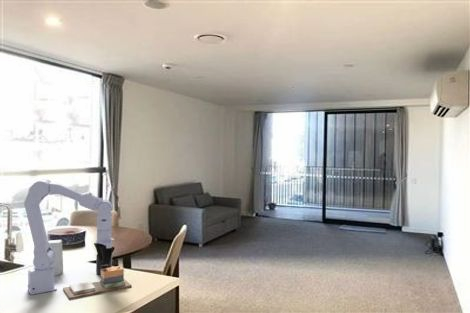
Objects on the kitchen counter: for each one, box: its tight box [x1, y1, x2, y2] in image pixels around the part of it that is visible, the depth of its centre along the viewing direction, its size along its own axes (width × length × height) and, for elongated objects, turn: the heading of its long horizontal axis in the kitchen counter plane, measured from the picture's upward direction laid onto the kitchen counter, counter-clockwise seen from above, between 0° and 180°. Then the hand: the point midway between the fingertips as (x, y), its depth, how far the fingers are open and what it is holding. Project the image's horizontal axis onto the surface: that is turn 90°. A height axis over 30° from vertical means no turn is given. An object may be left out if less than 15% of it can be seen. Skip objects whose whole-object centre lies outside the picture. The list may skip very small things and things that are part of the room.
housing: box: [100, 265, 125, 285], centre depth 158 cm, size 5×8×5 cm, turn 125°
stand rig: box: [62, 278, 133, 300], centre depth 155 cm, size 24×12×2 cm, turn 125°
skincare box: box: [48, 239, 64, 276], centre depth 173 cm, size 8×6×15 cm
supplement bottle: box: [95, 254, 113, 276], centre depth 175 cm, size 7×7×12 cm
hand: (103, 261), depth 159 cm, fingers open, 7 cm apart
